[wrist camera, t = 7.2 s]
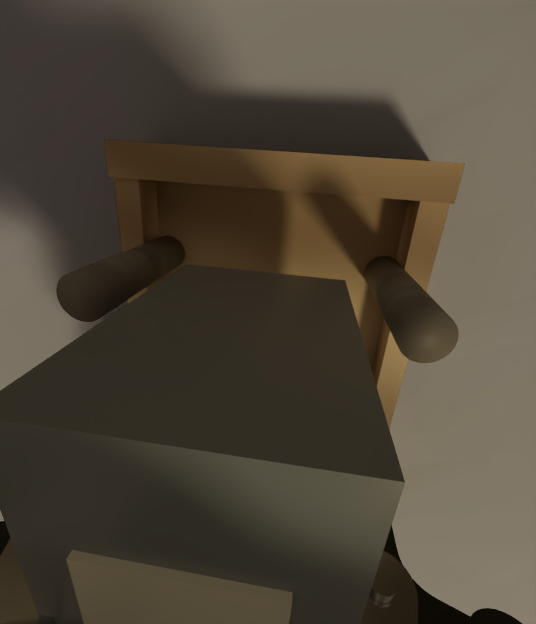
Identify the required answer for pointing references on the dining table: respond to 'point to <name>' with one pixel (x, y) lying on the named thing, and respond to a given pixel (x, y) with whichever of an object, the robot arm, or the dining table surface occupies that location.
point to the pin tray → (284, 235)
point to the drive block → (203, 459)
